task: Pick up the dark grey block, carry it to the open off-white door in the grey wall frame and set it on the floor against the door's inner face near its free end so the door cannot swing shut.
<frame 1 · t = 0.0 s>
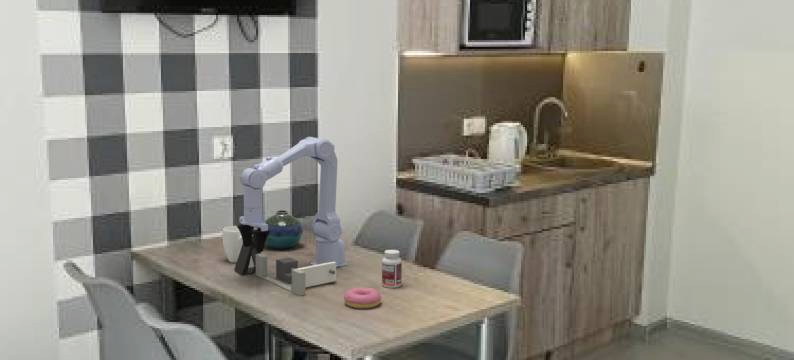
hand: (253, 249, 254), 10 cm above the table, fingers open, 7 cm apart
vase: (282, 247, 297), on the table
dark grey block: (286, 278, 259), on the table
doughnut: (362, 304, 236), on the table
door: (316, 275, 250), point 3 cm above the table, hinge at 90.0°
phone stand: (250, 271, 265), on the table
pill bottle: (391, 286, 254), on the table
mug: (238, 262, 276), on the table
wall: (264, 277, 258), on the table
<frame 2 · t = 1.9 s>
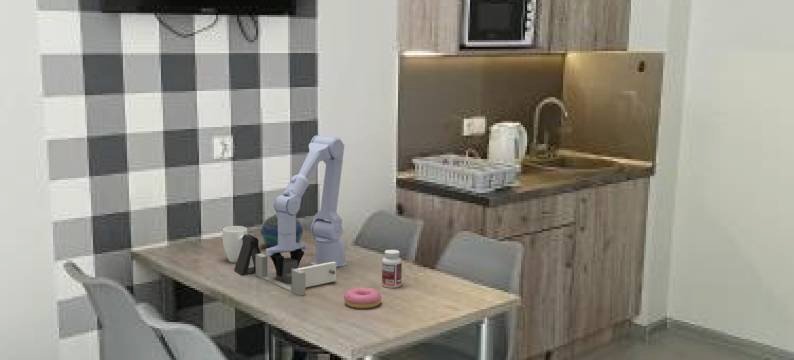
hand: (286, 273, 258), 1 cm above the table, fingers closed on dark grey block, 5 cm apart
dark grey block: (286, 278, 259), on the table, touching gripper
everything else where it was.
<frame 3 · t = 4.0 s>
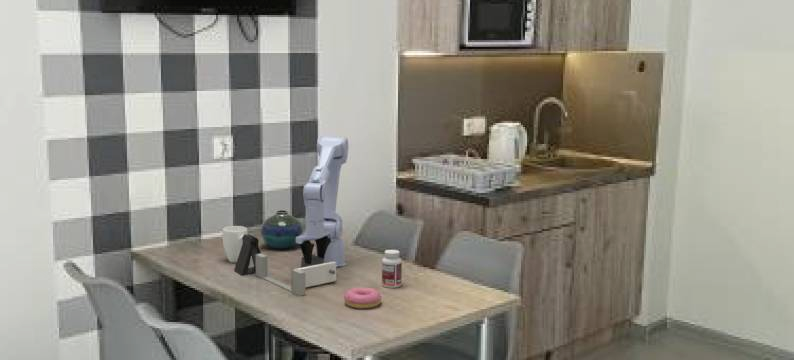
hand: (314, 261, 258), 6 cm above the table, fingers closed on dark grey block, 5 cm apart
dark grey block: (311, 275, 260), point 1 cm above the table, tilted 7°, touching gripper
everything else where it was.
when the fingers open (3 cm above the table, at t = 5.0 s): dark grey block stays where it is, on the table.
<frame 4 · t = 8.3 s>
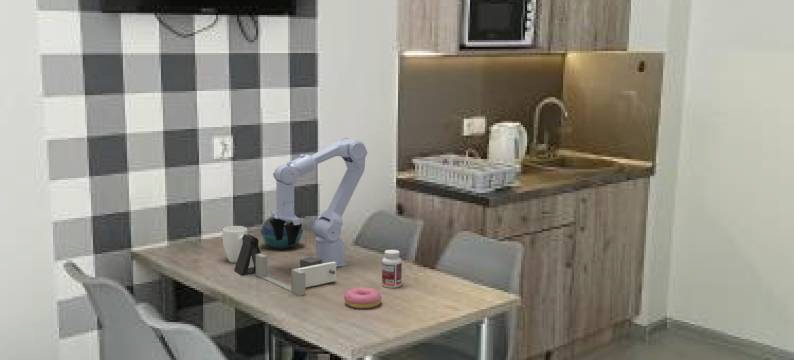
hand: (285, 242, 264), 10 cm above the table, fingers open, 7 cm apart
dark grey block: (311, 277, 260), on the table
everything else where it was.
at the end: dark grey block 1.5 cm from the target spot, on the table; door at +90° (first picture: +90°); dark grey block tilted 0° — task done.
